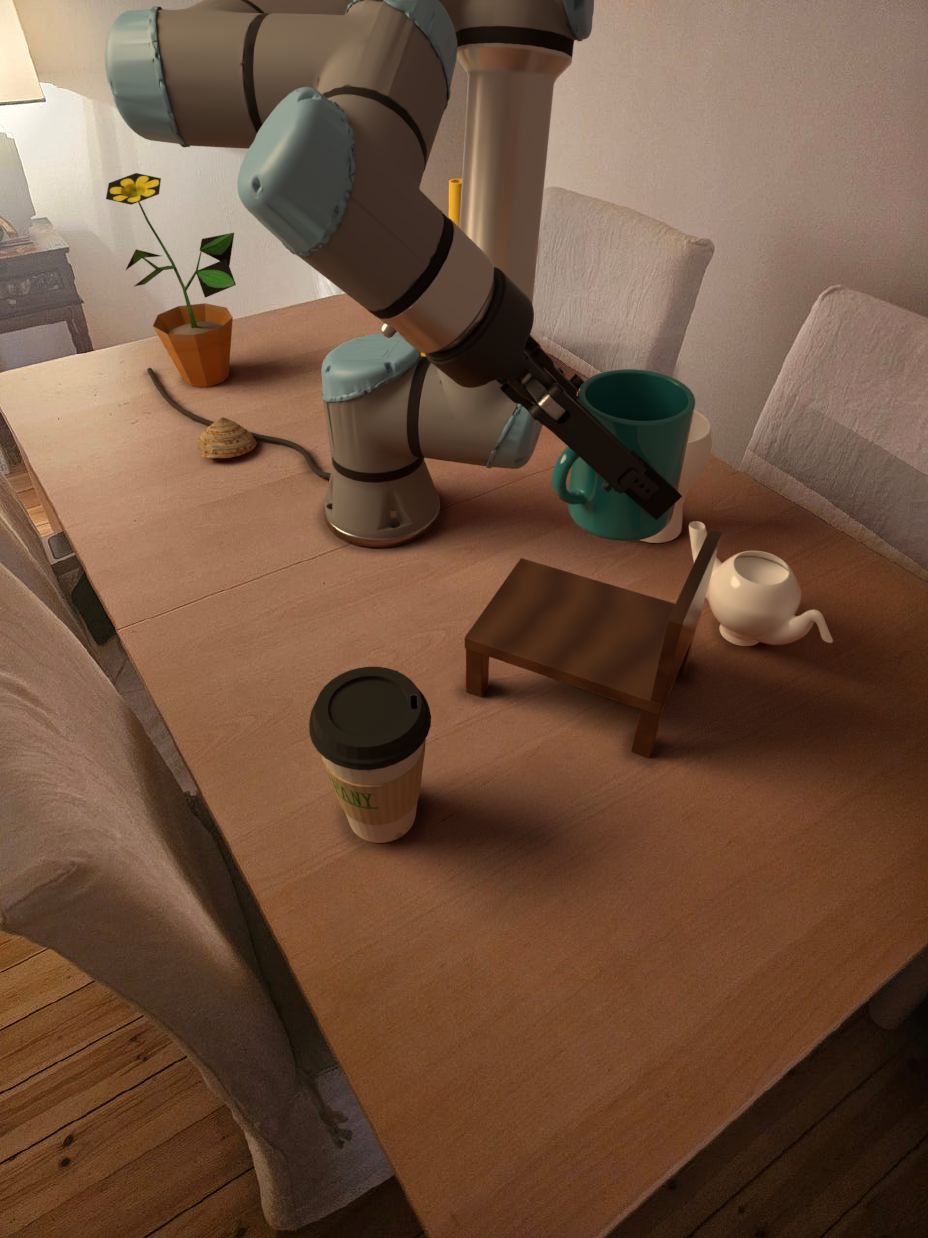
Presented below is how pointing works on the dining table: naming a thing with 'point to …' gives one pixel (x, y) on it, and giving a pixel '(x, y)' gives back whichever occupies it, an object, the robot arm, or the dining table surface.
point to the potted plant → (191, 329)
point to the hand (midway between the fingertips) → (640, 473)
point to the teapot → (756, 597)
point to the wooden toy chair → (592, 635)
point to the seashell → (225, 440)
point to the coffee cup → (373, 748)
